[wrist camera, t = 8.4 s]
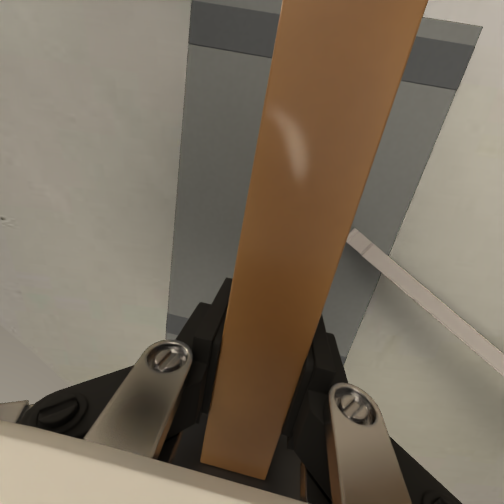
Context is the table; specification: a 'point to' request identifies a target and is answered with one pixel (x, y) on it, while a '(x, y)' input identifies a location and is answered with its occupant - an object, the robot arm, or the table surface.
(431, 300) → the caliper
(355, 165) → the hammer
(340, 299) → the grey towel
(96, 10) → the table surface
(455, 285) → the table surface
